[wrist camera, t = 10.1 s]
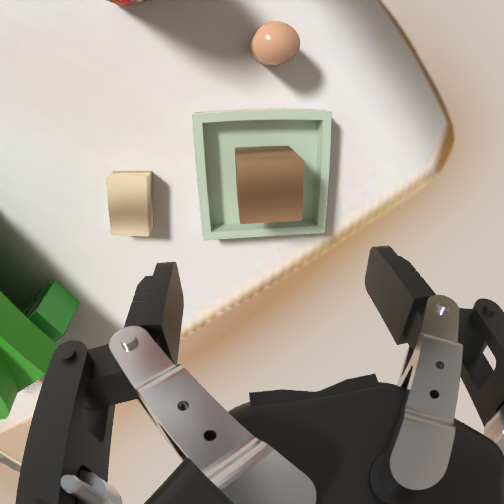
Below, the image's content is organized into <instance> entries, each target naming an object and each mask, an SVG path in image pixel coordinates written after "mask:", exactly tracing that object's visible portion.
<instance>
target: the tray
mask: <svg viewBox="0 0 504 504" xmlns="http://www.w3.org/2000/svg"><path fill="white" fill-rule="evenodd" d="M331 116H332V112H330V111H327V110H319V109H243V110H223V111H208V112H196V113H194V114H193V115H192V119H193V133H194V146H195V159H196V170H197V181H198V192H199V202H200V212H201V222H202V231H203V240H216V239H231V238H247V237H263V236H279V235H297V234H314V233H325V224H326V212H327V198H328V184H329V167H330V146H331ZM258 146H289V147H291V148H292V149H293V150H294V151H295V152H296V153H297V154H298V155H299V156H300V157H301V158H302V159H303V160H304V181H303V210H302V221H286V222H268V223H252V224H240V219H239V210H238V201H237V186H236V166H235V148H237V147H258Z"/></svg>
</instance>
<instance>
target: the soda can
mask: <svg viewBox="0 0 504 504" xmlns="http://www.w3.org/2000/svg"><path fill="white" fill-rule="evenodd" d="M107 1H110V2H113V3H116V4H120V5H132V4H137V3H140V2H143V1H145V0H107Z"/></svg>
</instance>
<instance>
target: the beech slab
mask: <svg viewBox="0 0 504 504" xmlns="http://www.w3.org/2000/svg"><path fill="white" fill-rule="evenodd" d="M107 193H108V206H109V217H110V227H111V235H122V236H147V237H149V235H150V233H151V231H152V229H153V206H152V171H114V172H112V173H111V174H110V175H109V176H108V177H107Z"/></svg>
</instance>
